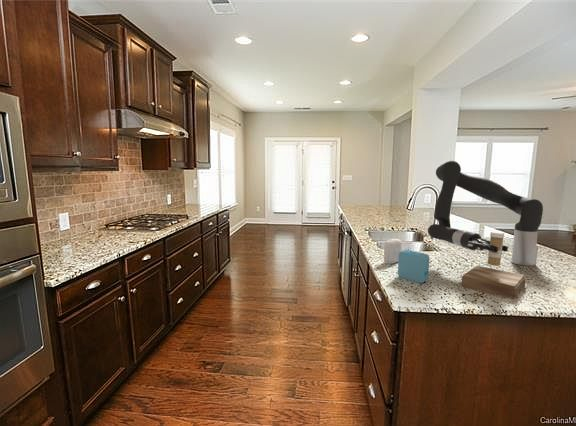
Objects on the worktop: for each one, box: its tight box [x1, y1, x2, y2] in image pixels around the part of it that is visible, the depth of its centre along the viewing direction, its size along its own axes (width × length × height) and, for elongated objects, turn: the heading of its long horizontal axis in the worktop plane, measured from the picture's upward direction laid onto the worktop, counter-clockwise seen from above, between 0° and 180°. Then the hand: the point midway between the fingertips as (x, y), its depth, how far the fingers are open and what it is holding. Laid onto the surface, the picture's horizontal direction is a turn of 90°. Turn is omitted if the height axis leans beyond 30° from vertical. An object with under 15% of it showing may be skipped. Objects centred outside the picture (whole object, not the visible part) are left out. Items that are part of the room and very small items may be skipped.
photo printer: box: [383, 238, 403, 265], centre depth 159 cm, size 10×4×12 cm, turn 123°
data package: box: [397, 249, 430, 284], centre depth 135 cm, size 12×4×12 cm, turn 40°
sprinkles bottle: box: [487, 230, 505, 267], centre depth 124 cm, size 5×5×13 cm
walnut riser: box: [460, 265, 526, 301], centre depth 126 cm, size 18×18×5 cm
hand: (502, 249), depth 121 cm, fingers closed on sprinkles bottle, 4 cm apart
